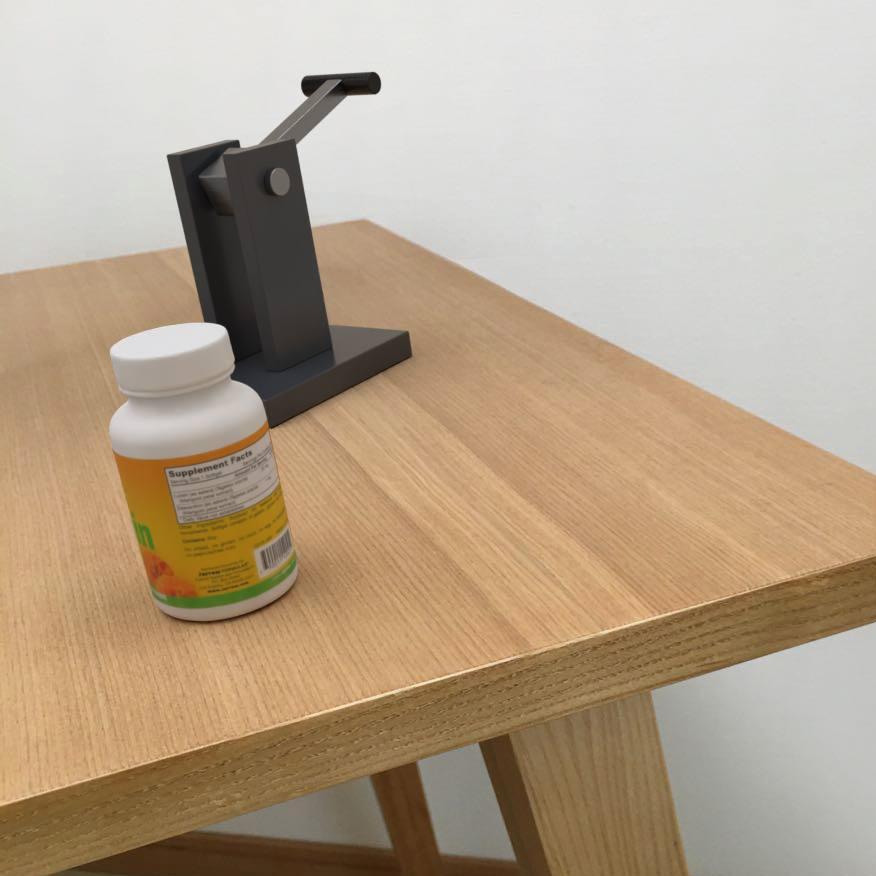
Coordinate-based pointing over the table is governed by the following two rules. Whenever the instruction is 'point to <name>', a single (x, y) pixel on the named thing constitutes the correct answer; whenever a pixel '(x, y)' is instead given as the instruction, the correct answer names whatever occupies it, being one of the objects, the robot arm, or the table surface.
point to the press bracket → (271, 280)
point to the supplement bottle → (199, 475)
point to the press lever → (294, 124)
